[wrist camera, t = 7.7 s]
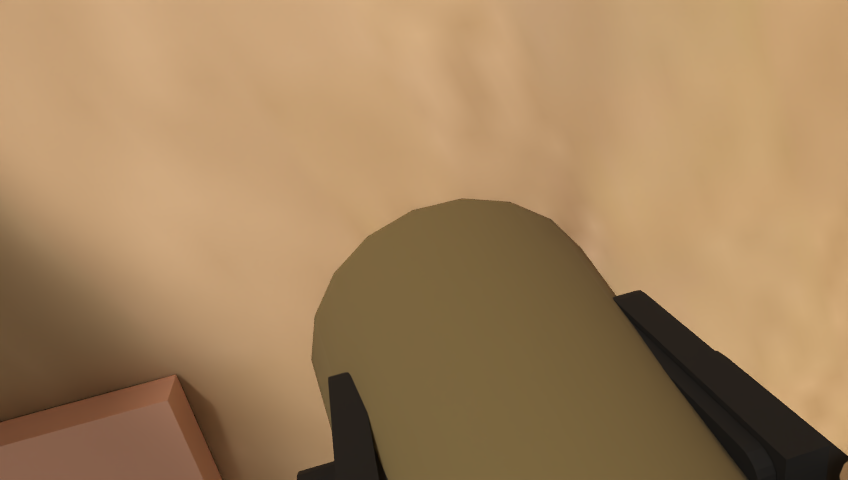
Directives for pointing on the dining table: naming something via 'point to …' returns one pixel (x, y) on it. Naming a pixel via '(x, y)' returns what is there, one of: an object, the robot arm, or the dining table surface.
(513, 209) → the brown pepper mill
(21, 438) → the terracotta pad
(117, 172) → the dining table surface
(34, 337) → the dining table surface
